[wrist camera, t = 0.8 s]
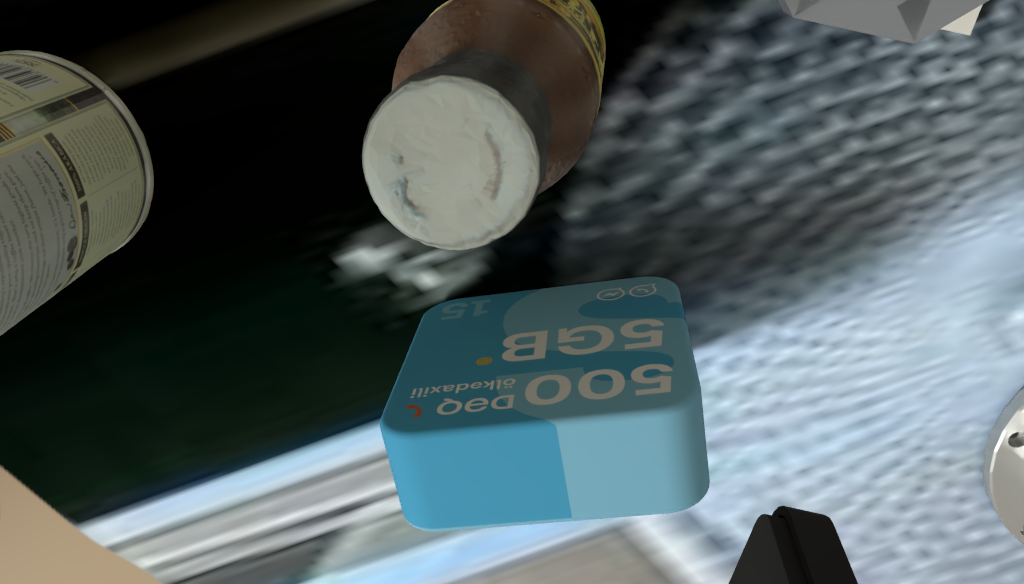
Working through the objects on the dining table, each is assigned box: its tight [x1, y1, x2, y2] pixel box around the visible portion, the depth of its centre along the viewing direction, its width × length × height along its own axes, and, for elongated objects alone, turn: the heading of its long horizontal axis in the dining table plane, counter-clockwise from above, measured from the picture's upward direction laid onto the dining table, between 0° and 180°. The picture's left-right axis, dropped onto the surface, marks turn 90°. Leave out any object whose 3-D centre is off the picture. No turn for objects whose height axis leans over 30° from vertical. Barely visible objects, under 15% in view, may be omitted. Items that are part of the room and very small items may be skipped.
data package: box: [380, 277, 710, 532], centre depth 37 cm, size 12×4×12 cm, turn 100°
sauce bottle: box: [362, 0, 606, 250], centre depth 28 cm, size 6×6×20 cm
